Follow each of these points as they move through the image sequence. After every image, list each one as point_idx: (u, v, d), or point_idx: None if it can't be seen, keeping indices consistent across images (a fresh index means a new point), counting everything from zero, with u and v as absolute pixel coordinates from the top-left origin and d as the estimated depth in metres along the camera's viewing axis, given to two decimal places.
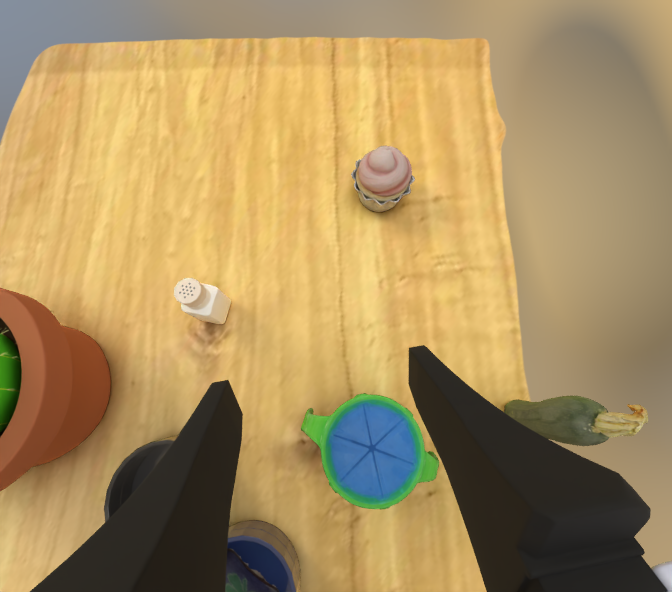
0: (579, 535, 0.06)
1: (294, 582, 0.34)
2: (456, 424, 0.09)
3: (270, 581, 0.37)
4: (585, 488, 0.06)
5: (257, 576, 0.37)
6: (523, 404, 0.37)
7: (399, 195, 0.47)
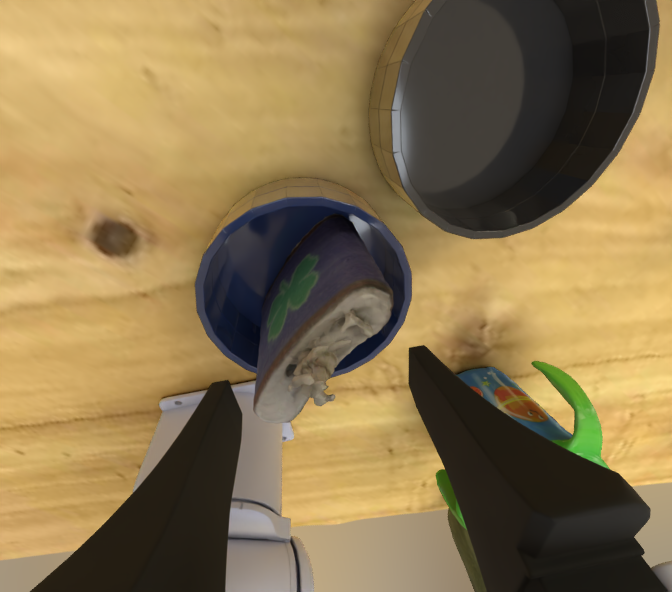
0: (579, 535, 0.06)
1: None
2: (456, 424, 0.09)
3: None
4: (585, 488, 0.06)
5: None
6: None
7: None
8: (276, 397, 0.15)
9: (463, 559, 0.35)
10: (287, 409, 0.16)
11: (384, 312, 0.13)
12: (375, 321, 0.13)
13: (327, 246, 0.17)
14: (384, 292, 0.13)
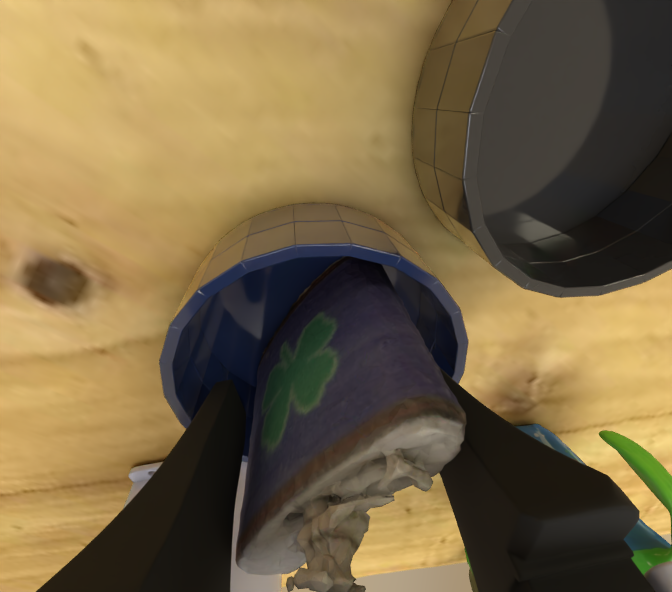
0: (568, 537, 0.06)
1: None
2: None
3: None
4: (573, 490, 0.06)
5: None
6: None
7: None
8: (270, 550, 0.10)
9: None
10: (287, 560, 0.10)
11: (450, 448, 0.08)
12: (434, 460, 0.08)
13: (350, 307, 0.12)
14: (454, 421, 0.07)
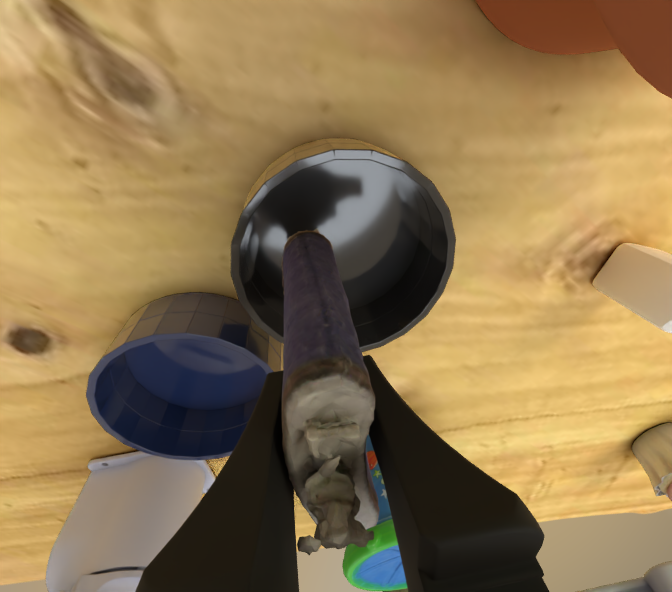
0: (472, 558, 0.06)
1: None
2: (382, 438, 0.09)
3: (209, 384, 0.26)
4: (477, 510, 0.06)
5: None
6: None
7: (660, 489, 0.37)
8: None
9: None
10: (361, 517, 0.12)
11: (355, 395, 0.08)
12: (356, 410, 0.08)
13: (284, 301, 0.12)
14: (328, 376, 0.07)
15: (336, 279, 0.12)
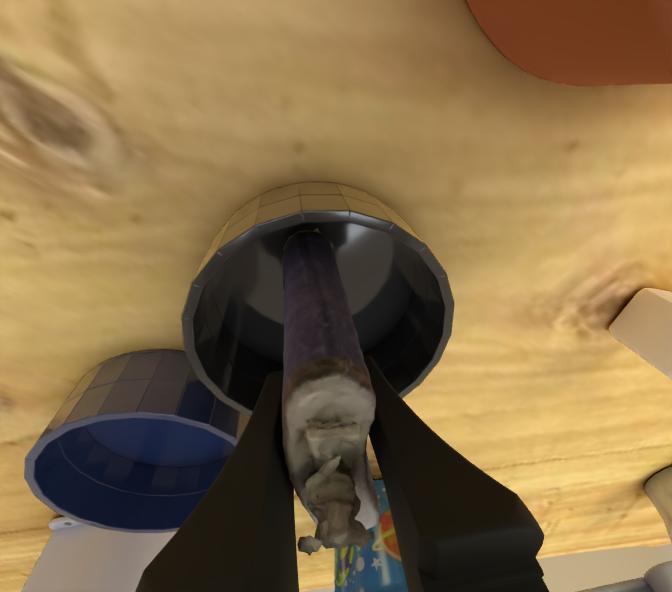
0: (472, 558, 0.06)
1: None
2: (382, 438, 0.09)
3: (180, 442, 0.23)
4: (477, 510, 0.06)
5: None
6: None
7: None
8: None
9: None
10: (361, 517, 0.12)
11: (356, 394, 0.08)
12: (356, 410, 0.08)
13: (284, 300, 0.12)
14: (328, 376, 0.07)
15: (336, 279, 0.12)
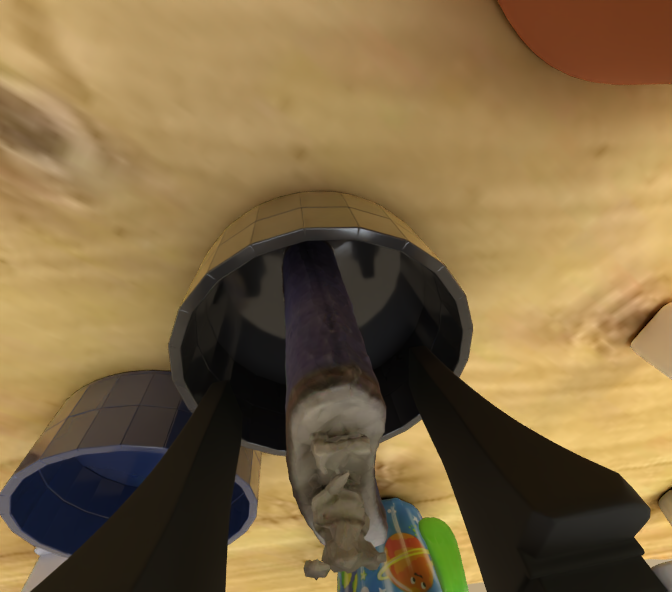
0: (579, 535, 0.06)
1: None
2: (456, 424, 0.09)
3: None
4: (584, 489, 0.06)
5: None
6: None
7: None
8: None
9: None
10: (368, 535, 0.11)
11: (365, 405, 0.07)
12: (366, 422, 0.08)
13: (285, 306, 0.12)
14: (336, 386, 0.07)
15: (340, 283, 0.11)
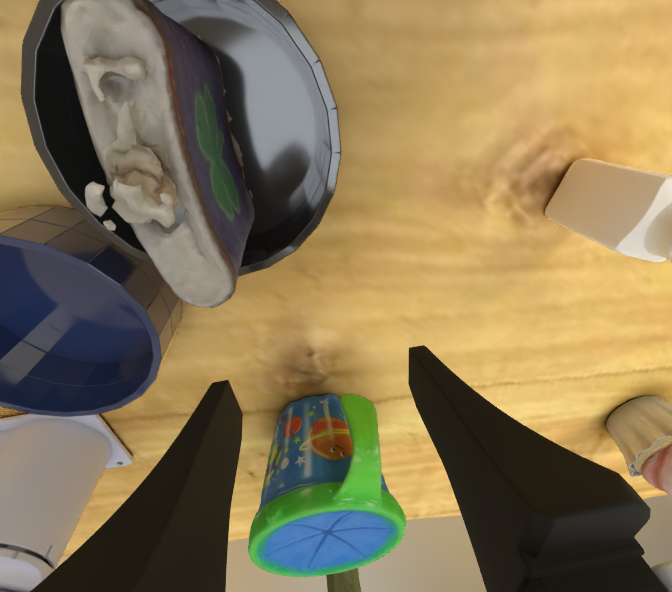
0: (579, 535, 0.06)
1: None
2: (456, 424, 0.09)
3: (93, 330, 0.22)
4: (585, 489, 0.06)
5: (234, 155, 0.17)
6: (357, 575, 0.34)
7: (635, 468, 0.33)
8: (180, 267, 0.11)
9: (327, 584, 0.34)
10: (212, 275, 0.11)
11: (134, 20, 0.08)
12: (142, 49, 0.08)
13: None
14: None
15: (187, 31, 0.11)
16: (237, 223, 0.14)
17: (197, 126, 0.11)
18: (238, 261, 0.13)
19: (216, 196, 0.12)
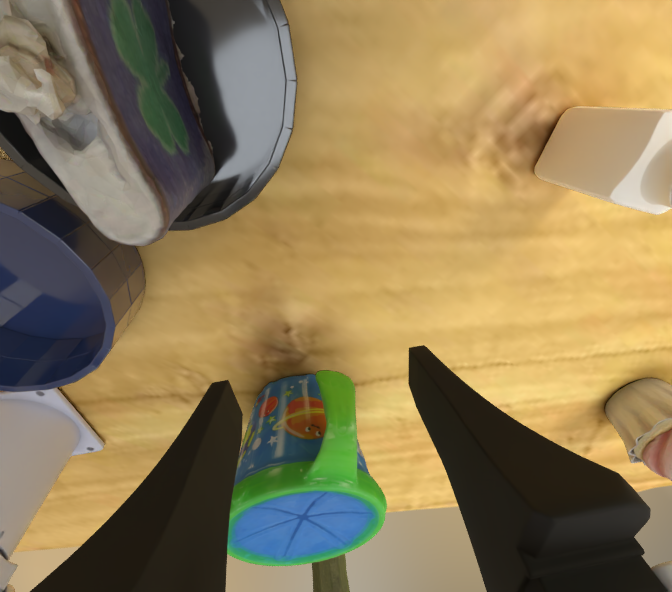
0: (579, 535, 0.06)
1: None
2: (456, 424, 0.09)
3: (49, 301, 0.20)
4: (584, 488, 0.06)
5: (189, 98, 0.16)
6: (344, 567, 0.33)
7: (635, 454, 0.32)
8: (96, 192, 0.09)
9: (313, 577, 0.33)
10: (136, 203, 0.10)
11: None
12: None
13: None
14: None
15: None
16: (180, 160, 0.12)
17: (113, 25, 0.09)
18: (174, 196, 0.11)
19: (146, 118, 0.11)
